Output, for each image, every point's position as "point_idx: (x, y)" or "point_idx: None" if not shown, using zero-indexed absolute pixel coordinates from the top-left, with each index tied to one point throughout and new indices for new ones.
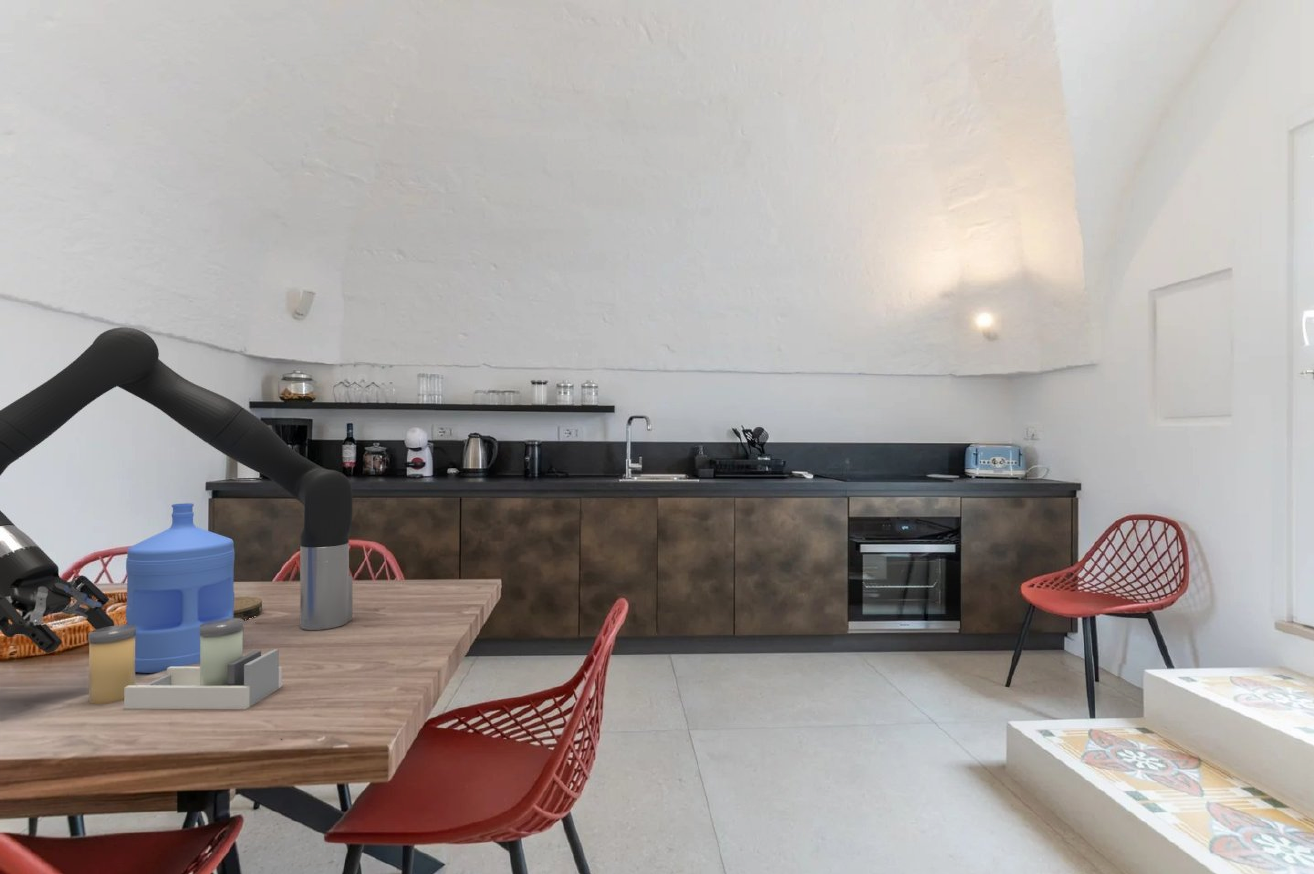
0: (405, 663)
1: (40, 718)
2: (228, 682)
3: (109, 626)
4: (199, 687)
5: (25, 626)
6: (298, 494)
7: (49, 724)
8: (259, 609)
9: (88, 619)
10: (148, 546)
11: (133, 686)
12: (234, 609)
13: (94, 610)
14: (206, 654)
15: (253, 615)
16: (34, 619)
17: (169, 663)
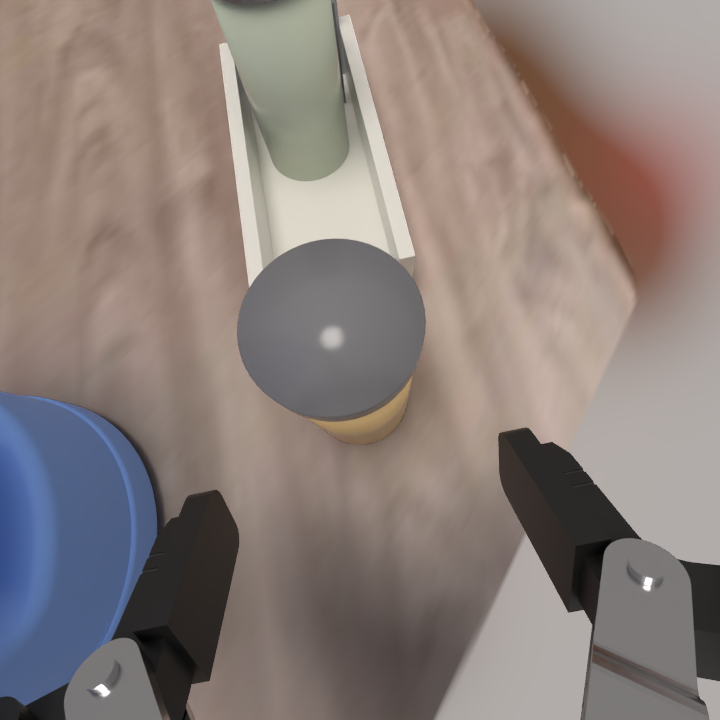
0: (74, 13)
1: (481, 483)
2: (339, 51)
3: (280, 402)
4: (370, 93)
5: (716, 570)
6: None
7: (499, 415)
8: None
9: (210, 654)
10: None
11: (403, 240)
12: None
13: (173, 629)
14: (333, 21)
15: None
16: (671, 590)
17: (130, 457)
